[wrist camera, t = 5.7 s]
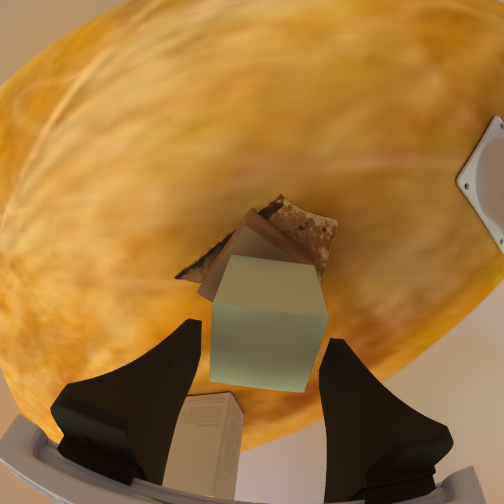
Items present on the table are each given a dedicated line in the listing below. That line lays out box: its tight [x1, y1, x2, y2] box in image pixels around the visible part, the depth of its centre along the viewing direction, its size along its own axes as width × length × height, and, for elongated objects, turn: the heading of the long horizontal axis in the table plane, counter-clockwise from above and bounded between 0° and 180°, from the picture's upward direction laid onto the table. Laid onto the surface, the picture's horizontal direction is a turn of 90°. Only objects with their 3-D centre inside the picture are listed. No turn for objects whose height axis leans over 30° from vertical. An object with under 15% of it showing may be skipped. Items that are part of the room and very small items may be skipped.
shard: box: [174, 194, 338, 285], centre depth 20 cm, size 11×8×2 cm
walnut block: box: [197, 209, 319, 303], centre depth 18 cm, size 5×5×4 cm
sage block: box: [210, 254, 329, 392], centre depth 14 cm, size 4×4×5 cm
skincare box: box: [162, 392, 244, 500], centre depth 21 cm, size 6×4×12 cm
